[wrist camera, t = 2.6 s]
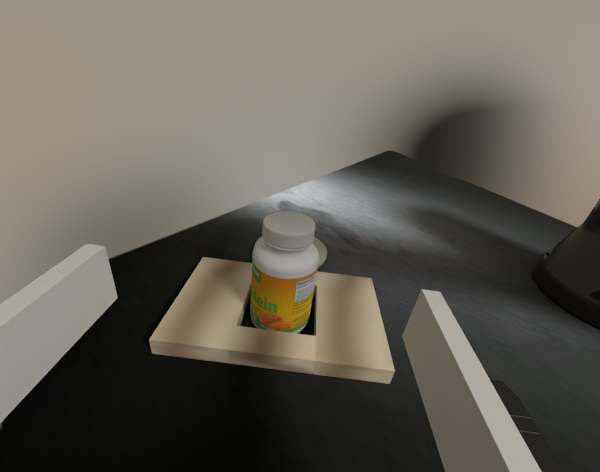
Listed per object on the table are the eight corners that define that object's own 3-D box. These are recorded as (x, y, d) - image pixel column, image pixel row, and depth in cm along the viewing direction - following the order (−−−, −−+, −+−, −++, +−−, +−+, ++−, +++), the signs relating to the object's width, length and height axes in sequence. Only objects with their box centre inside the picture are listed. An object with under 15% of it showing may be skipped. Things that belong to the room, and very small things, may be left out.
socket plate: (368, 289, 31) (371, 278, 30) (389, 383, 22) (394, 371, 21) (203, 268, 31) (203, 256, 31) (151, 353, 22) (149, 339, 21)
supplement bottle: (237, 313, 26) (238, 217, 21) (280, 288, 30) (289, 201, 25) (278, 350, 23) (289, 248, 18) (320, 318, 27) (339, 225, 22)
